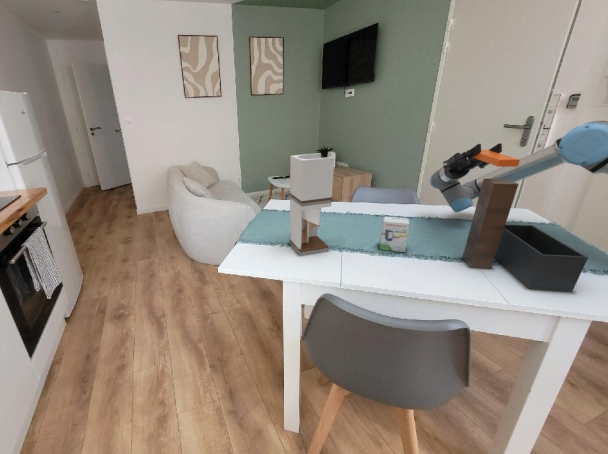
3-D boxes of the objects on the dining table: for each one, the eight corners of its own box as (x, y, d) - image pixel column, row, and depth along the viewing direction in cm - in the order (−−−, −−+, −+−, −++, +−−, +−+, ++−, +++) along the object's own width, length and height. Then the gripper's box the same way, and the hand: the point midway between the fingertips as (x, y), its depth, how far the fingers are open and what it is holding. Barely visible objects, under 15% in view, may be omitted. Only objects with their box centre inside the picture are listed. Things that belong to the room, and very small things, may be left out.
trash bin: (488, 252, 103) (496, 224, 99) (521, 254, 101) (532, 225, 96) (528, 288, 83) (542, 255, 79) (572, 292, 81) (588, 257, 76)
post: (461, 258, 100) (483, 178, 89) (481, 259, 99) (506, 178, 88) (470, 267, 95) (494, 183, 84) (491, 268, 93) (518, 183, 82)
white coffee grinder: (300, 255, 108) (302, 160, 94) (289, 243, 117) (290, 155, 104) (328, 250, 110) (334, 157, 96) (315, 239, 120) (319, 153, 106)
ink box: (403, 246, 110) (409, 217, 105) (405, 253, 105) (410, 223, 101) (379, 244, 113) (383, 215, 108) (379, 250, 108) (383, 220, 104)
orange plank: (468, 156, 100) (469, 150, 99) (485, 155, 98) (486, 149, 98) (497, 166, 83) (499, 159, 83) (518, 166, 82) (520, 159, 82)
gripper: (429, 161, 117) (457, 137, 94) (480, 161, 113) (523, 135, 90) (429, 179, 116) (458, 159, 93) (480, 179, 112) (524, 158, 89)
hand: (489, 147), depth 92 cm, fingers closed on orange plank, 5 cm apart
